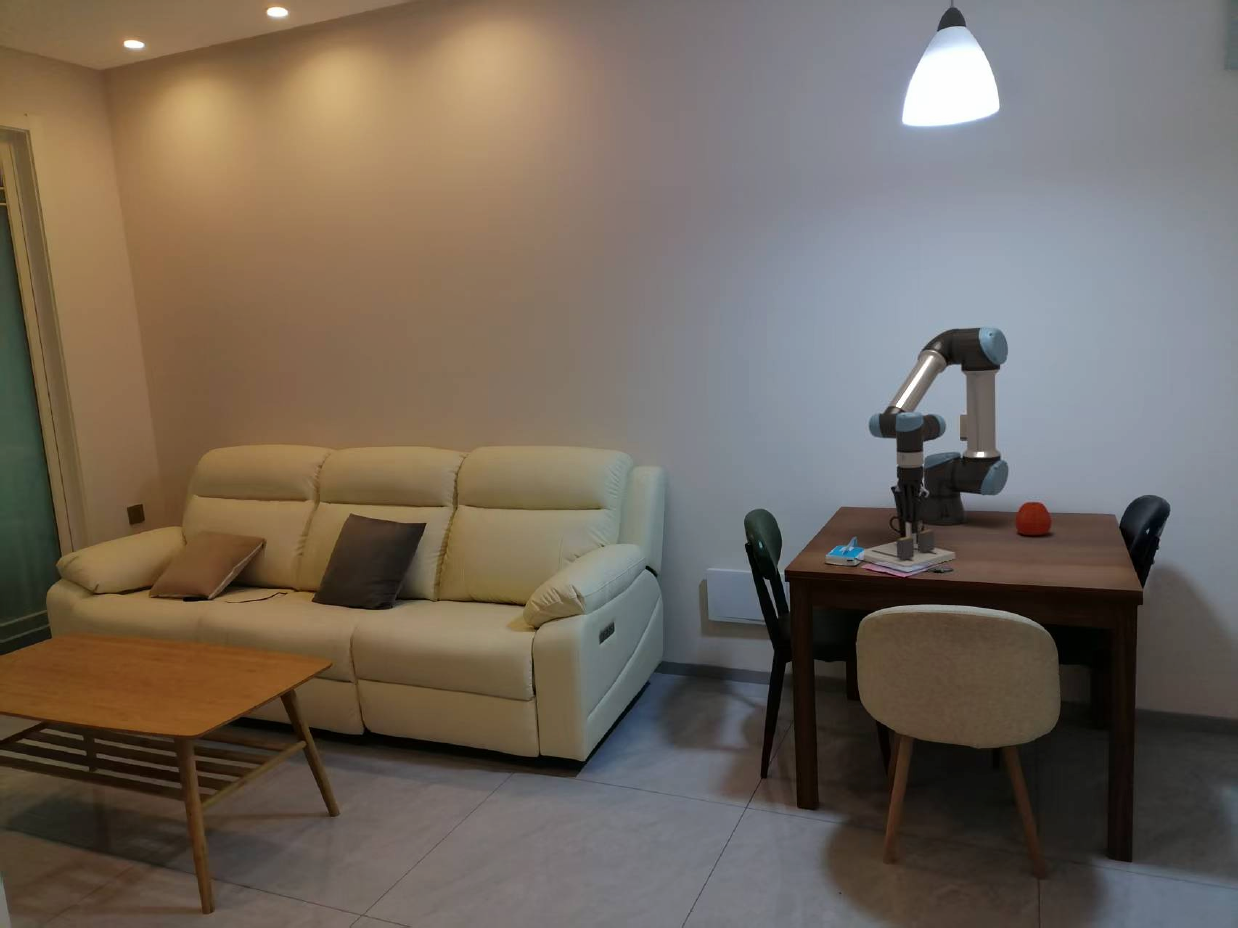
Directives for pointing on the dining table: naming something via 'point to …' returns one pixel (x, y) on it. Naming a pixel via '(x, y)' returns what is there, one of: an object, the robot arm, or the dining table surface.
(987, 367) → the robot arm
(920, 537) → the block
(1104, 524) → the dining table surface
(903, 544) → the block
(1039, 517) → the apple
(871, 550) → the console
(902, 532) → the coffee mug
